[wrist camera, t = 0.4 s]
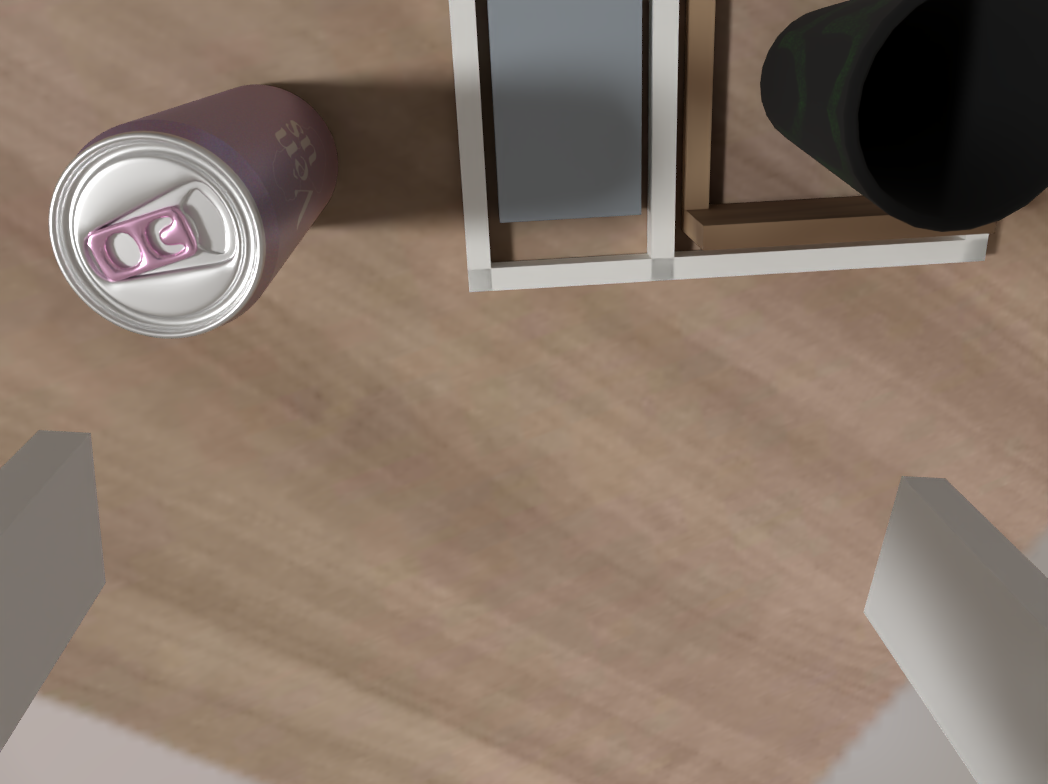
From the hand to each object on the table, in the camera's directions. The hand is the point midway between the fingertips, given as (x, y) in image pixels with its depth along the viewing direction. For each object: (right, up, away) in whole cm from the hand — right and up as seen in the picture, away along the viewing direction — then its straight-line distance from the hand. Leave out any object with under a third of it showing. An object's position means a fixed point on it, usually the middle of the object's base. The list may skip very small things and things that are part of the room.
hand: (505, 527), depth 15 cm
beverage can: (-10, +12, +23) cm, 28 cm away
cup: (+13, +15, +23) cm, 31 cm away
